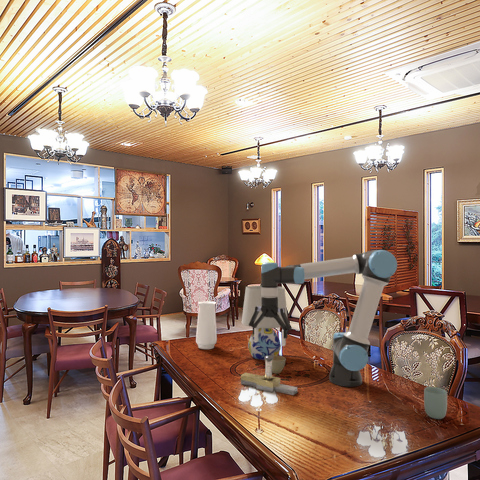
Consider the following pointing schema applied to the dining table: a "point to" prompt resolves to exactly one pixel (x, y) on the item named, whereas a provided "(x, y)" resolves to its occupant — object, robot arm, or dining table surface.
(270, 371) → the pin
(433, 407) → the cup
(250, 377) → the bar with brass collar
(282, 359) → the flower pot
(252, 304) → the table lamp
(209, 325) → the vase
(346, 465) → the dining table surface
